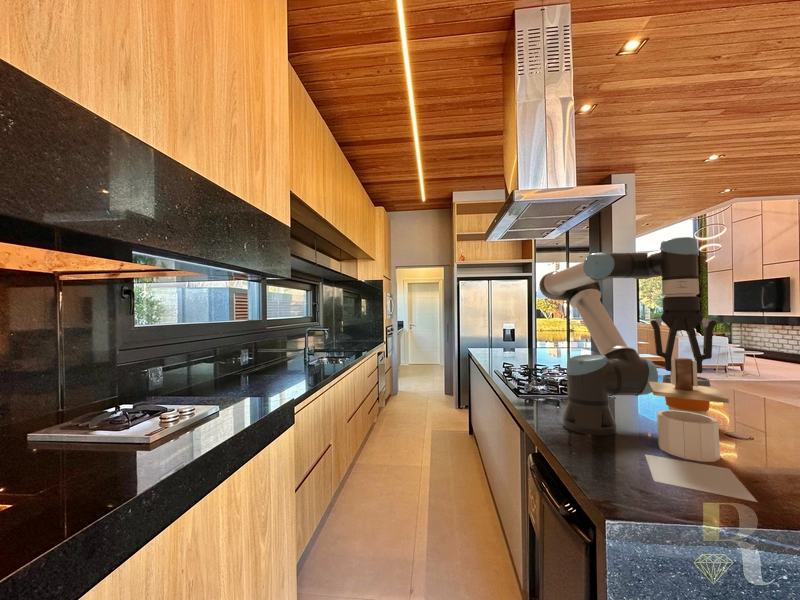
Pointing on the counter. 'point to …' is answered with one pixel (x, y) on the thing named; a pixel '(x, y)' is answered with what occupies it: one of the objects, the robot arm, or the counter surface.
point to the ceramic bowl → (688, 435)
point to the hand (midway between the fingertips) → (683, 384)
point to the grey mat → (697, 477)
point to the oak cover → (686, 385)
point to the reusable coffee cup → (688, 404)
